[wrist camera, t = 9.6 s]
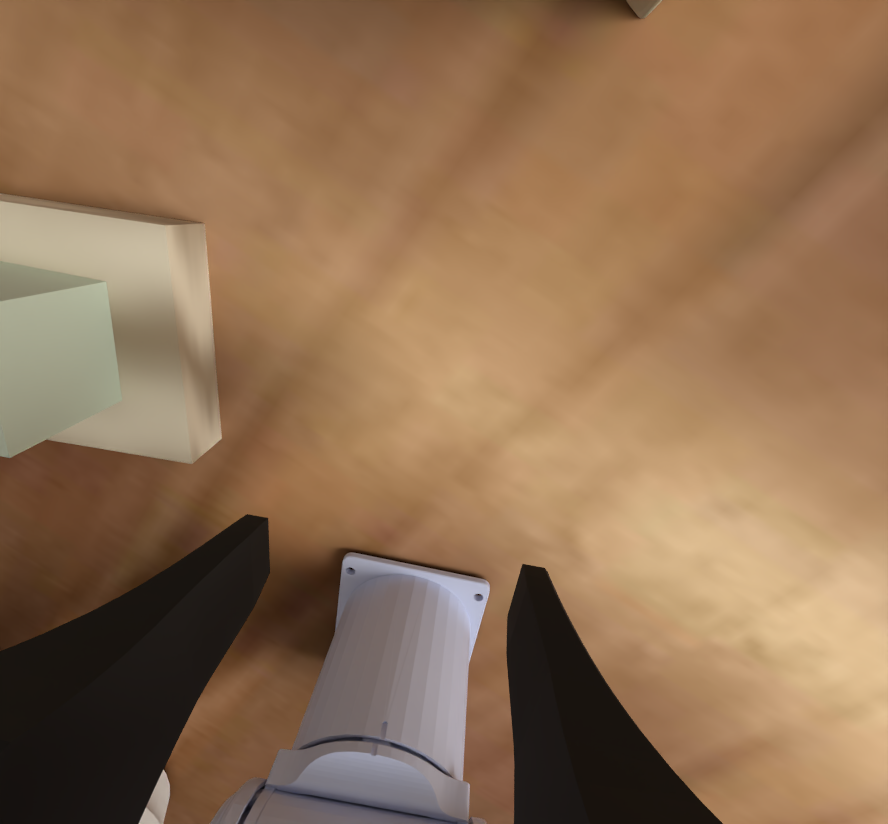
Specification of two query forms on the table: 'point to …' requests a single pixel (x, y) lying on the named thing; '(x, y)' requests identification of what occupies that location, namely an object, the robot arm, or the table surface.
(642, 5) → the box
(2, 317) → the sage cube
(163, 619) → the robot arm
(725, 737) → the table surface
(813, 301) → the table surface
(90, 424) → the birch block
